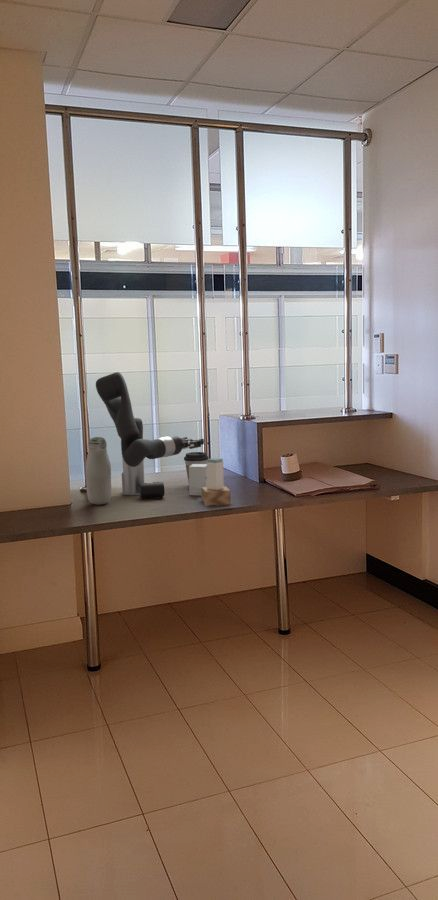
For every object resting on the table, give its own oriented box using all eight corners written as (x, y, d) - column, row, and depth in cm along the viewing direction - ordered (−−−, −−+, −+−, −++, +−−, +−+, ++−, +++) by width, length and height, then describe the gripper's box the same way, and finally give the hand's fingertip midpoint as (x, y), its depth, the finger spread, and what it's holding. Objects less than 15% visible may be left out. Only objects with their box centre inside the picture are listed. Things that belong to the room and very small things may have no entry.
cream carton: (216, 490, 286) (216, 460, 285) (207, 488, 289) (206, 459, 288) (223, 488, 290) (223, 458, 289) (214, 487, 293) (213, 457, 291)
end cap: (141, 501, 297) (140, 485, 296) (138, 497, 304) (138, 482, 303) (165, 499, 300) (164, 483, 299) (161, 495, 307) (161, 480, 306)
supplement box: (205, 495, 304) (204, 466, 302) (189, 495, 305) (188, 466, 303) (209, 492, 311) (208, 463, 309) (193, 491, 312) (192, 463, 310)
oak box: (206, 506, 284) (206, 492, 284) (201, 501, 294) (201, 487, 293) (230, 504, 286) (230, 490, 286) (225, 499, 296) (225, 485, 295)
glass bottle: (84, 507, 289) (80, 438, 284) (92, 501, 299) (88, 435, 294) (108, 507, 287) (104, 438, 283) (115, 501, 297) (111, 435, 293)
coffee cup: (213, 486, 322) (212, 454, 320) (189, 489, 318) (188, 456, 316) (204, 482, 332) (203, 450, 330) (181, 484, 328) (180, 452, 326)
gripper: (181, 437, 261) (208, 432, 273) (152, 435, 269) (180, 429, 282) (181, 457, 262) (209, 451, 275) (153, 454, 271) (181, 448, 283)
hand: (194, 440), depth 278 cm, fingers open, 8 cm apart
